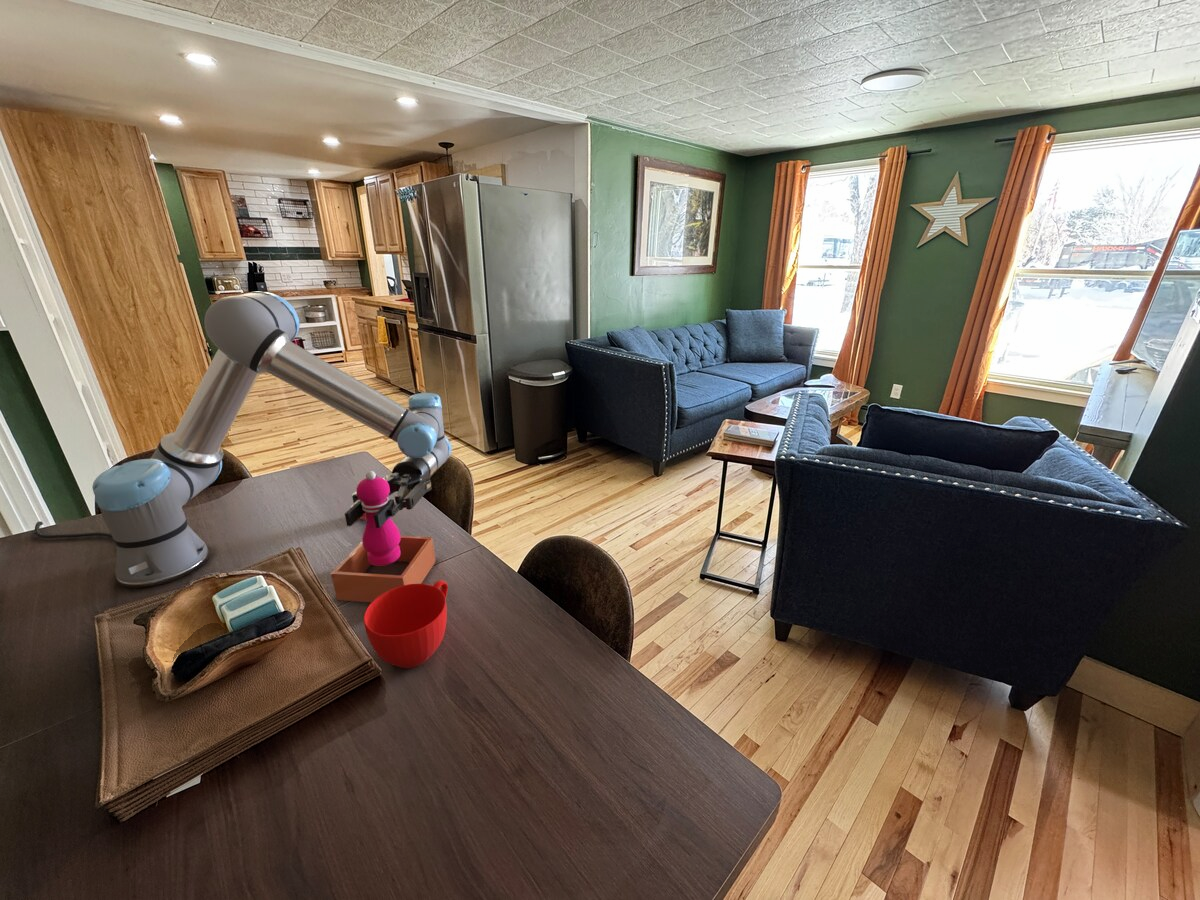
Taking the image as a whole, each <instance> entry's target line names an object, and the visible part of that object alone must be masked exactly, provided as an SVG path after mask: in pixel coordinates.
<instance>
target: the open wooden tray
mask: <svg viewBox="0 0 1200 900" xmlns="http://www.w3.org/2000/svg"><path fill="white" fill-rule="evenodd" d="M400 536H401V540H400V543H399V544H398V545H399V547H400V552H401V555H400V557H399V558H398V559H397V560H396V561H395V562H405V563H408V564H407V565H406V568H405V569H404V571H403V572H402V573H401V574H400V575H397V574H384V573H382V574H381V573H366V572H367V570H368V569H369V568H370V567H371V565H372V564H371V563H370V562H369V560H368V555H367V553H368V551H367V550H365V549H364V547H363V542H362V541H361V542H360V543H359V544H358V545H357V546H356V547H355V548H354V549H353V550H352V551H351V552H350V553H349V554H348V555H347V557H345V558H344V559H343V560H342V562H340V564H339V565H338V566H336V568H335V569H334V570H333V571H331V573H330V576H331V580H332V584H333V589H334V593H335V597H336V600H337V601H346V602H347V601H348V602H360V603H372V602H373V601H374V600H375V599H376V598H377V597H379V596H380V595H381V594H383V593H385V592H387V591H389V590H391V589H394V588H396V587H399V586H403V585H408V584H423V581H424V580H425V578H426V577H427V575H428V574H429V572H430V571H431V569H432V568H433V566H434V565H435V563H436V555H435V549H434V547H435V546H434V540H433V537H432V536H431V537H430V536H416V535H415V536H414V535H400Z"/></svg>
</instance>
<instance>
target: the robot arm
mask: <svg viewBox="0 0 1200 900" xmlns="http://www.w3.org/2000/svg"><path fill="white" fill-rule="evenodd" d="M203 323H204V329H205V332H206V335H207V337H208V339H209V340H210V341H211V343H212V344H213V346H215V347H216V348H217V351H216V352H215V354H214V356H213V358H212V360H211V362H210V363H209V366H208V367H207V369H206V370H205V373H204V375H203V377H202V379H201V381H200V383H199V385H198V387H197V389H196V391H195V392H194V395H193V396H192V398H191V400H190V401H189V404H188V405H187V408H186V410H185V411H184V413H183V416H182V417H181V419H180V421H179V423H178V425H177V427H176V429H175V431H173V432H169V433H166V434H164V435H163V436H162V437H161V439H160V440H159V443H158V444H157V447H156V449H155V450H154V452H153V454H152V456H151V457H150V458H141V459H136V460H130V461H127V462H123V463H122V464H120V465H114V466H112V467H110V468H108V469H106V470H105V471H102V473H100V474H98V475H97V477H96V478H95V479H94V480H93V482H92V485H91V486H92V487H91V489H92V493H93V495H94V501H95V504H96V506H97V507H98V508H99V510H100V512H101V513H100V514H101V515H102V517H103V520H104V521H105V522H104V523H105V524H106V525H107V528H108V530H109V532H99V531H98V532H85V533H84V532H82V533H65V534H44V533H41V531H40V527H41V526H43V525H44V523H43V521H37V522H36V523H35V524H34V525H35V526H34V533H35V535H36V536H37V537H39V538H43V539H60V538H81V537H82V538H83V537H94V536H101V537H108V538H112V540H113V542H114V544H115V546H116V555H115V566H114V567H115V570H114V573H115V577H116V580H117V583H118V584H119V585H120V586H121V587H124V588H129V589H143V588H149V587H155V586H160V585H163V584H167V583H170V582H173V581H175V580H179V579H180V578H183V577H184V576H187V575H189V574H191V573H192V572H194V571H196V570H198V569H199V568H200V567H201V566H203V565H204V564H205V563H206V562H207V561H208V559H209V557H210V551H209V548H208V546H207V544H206V543H205V542H204V540H203V539H202V538H201V537H200V536H199V535H198V534H197V533H196V532H195V531H194V530H193V529H192V528H191V527H190V525H189V523H188V521H187V518H186V515H185V512H184V510H183V506H185V505H187V504H188V502H190V501H191V500H192V499H193V498H195V497H196V496H197V495H199V493H201V492H202V491H203V490H205V489H207V488H208V487H209V486H211V485H212V484H213V483H214V482H215V481H216V480H217V479H218V477H219V475H220V474H221V472H222V468H223V458H224V455H225V454H224V450H223V449H222V447H221V446H222V444H223V442H224V440H225V438H226V436H227V435H228V433H229V431H230V429H231V427H232V426H233V424H234V422H235V420H236V418H237V416H239V413H240V411H241V409H242V408H243V405H244V404H245V402H246V400H247V398H248V397H249V395H250V393H251V391H252V389H253V388H254V386H255V384H256V382H257V380H258V379H259V377H260V375H264V374H265V375H266V374H270V375H272V376H273V377H276V378H277V379H278V380H281V381H283V382H285V384H286V383H287V384H288V385H290V386H292V387H294V388H296V389H298V390H300V391H301V392H303V393H305V394H306V395H308V396H310V397H312V398H314V399H316V400H318V401H319V402H322V404H323V403H324V404H325V405H327V406H329V407H331V408H333V409H335V410H337V411H338V412H340V413H341V414H344V415H346V416H348V417H350V418H351V419H353V420H355V421H357V422H359V423H360V424H362V425H365V426H366V427H367V428H368V427H369V429H372V430H374V431H375V432H377V433H379V434H381V435H382V436H384V437H386V438H388V439H390V440H392V441H394V442H396V443H397V447H398V449H399V451H400V452H401V453H402V454H403V455H404V456H405V457H403V458H402V459H400V461H399V462H398V463H396V464H395V465H394V467H393V468H392V471H391V473H389V474H387V475H385V476H384V477H382V478H383V479H385V480H386V481H387V482H388V484H389V487H390V493H389V495H388V496H391V495H393V494H394V493H396V495H394V498H393V499H392V498H391V499H389V501H388V502H387V503H386V504H385V505H384V506H383V507H382V508H381V509H380V510H379V511H378V512H377V513H376V514H375V515H374V519H375V525H376V528H380V527H381V526H382V525H383V524H384V523H385V522H386V521H387V520H388V519H389V518H391V517H392V518H393V517H394V516H396V514H398V513H399V512H400V511H402V510H403V509H406V510H412V509H413V508H414V507H415V506H416V505H417V504H418V502H419V501H420V500H421V499H422V498H423V497H424V495H426V493H428V492H430V491H432V482H431V481H432V480H431V477H432V476H433V475H434V474H435V473H436V472H437V470H439V469H440V468H441V467H442V465H444V464H445V463H446V462H447V461H448V459H449V457H450V456H451V454H452V452H453V451H452V450H453V448H452V447H453V446H452V443H451V442H450V440H449V439H448V438H447V437H446V435H445V429H444V417H443V406H442V399H441V396H440V395H438V394H437V393H433V392H420V393H415V394H412V395H411V396H409V397H408V408H407V407H405V406H404V405H402V404H400V403H398V402H397V401H394V400H393V399H392V398H390V397H387V396H386V395H384V394H382V393H381V392H380V391H378V390H376V389H374V388H372V387H370V386H369V385H367V384H365V383H363V382H362V381H360V380H359V379H357V378H355V377H354V376H351V375H350V374H348V373H346V372H345V371H343V370H341V369H339V368H338V367H336V366H335V365H333V364H330V363H329V362H327V361H326V360H324V359H322V358H320V357H318V356H317V355H315V354H313V353H311V352H310V351H308V350H307V349H304V348H303V347H301V346H300V345H298V344H297V343H294V342H292V341H293V340H294V339H295V338H296V337H297V335H298V333H299V331H300V328H301V327H300V318H299V316H298V313H297V311H296V310H295V308H294V306H293V305H292V304H290V302H289V301H288V300H286V299H285V298H283V297H282V296H280V295H278V294H275V293H272V292H267V291H251V292H247V293H243V294H237V295H230V296H229V295H228V296H225V297H221V298H219V299H217V300H215V301H214V302H213V303H212V304H211V305H209V307H208V308H207V310H206V311H205V315H204V321H203ZM376 477H378V475H377V474H376ZM351 497H352V502H353V503H352V504H351V505H350V507H349V509H347V510H346V512H344V517H345V524H346V526H347V527H352V526H353V525H354V524H355V523H357V522H358V520H360V519H359V518H360V517H361V516H362V515H363V514H364V513H365V511H363V509H362V505H361V504H362V501H361V500H360V499H359V498H358V497H357V492H356V491H354V492H353V493H352V494H351ZM37 530H39V531H37ZM35 531H36V532H35Z"/></svg>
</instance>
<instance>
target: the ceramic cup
mask: <svg viewBox="0 0 1200 900" xmlns="http://www.w3.org/2000/svg"><path fill="white" fill-rule="evenodd" d="M448 590H449V585H448V583H447V582H446V581H445V580H438V581H436V582H435V583H434V584H433V585H431V584H427V583H421V584H408V585H403V586H399V587H396V588H394V589H391V590H389V591H387V592H385V593H383V594H381V595H380V596H379V597H377V598H376V599H375V600H374V601H373V602H370V603H369V605H368V607H367V608H366V610H365V611H364V615H363V625H364V630H365V632H366V636H367V639H368V641H369V643H370V646H371V647H372V649H373V650H374V652H375V654H376V655H377V656H378V657H379V658H380V659H382V660H383V661H384V662H385V663H387V664H390V665H392V666H395V667H399V668H403V669H411V668H415V667H417V666H421V665H422V664H424V663H425V662H427V661H428V660H429V659H430V658H431V656H433V654H434V653H435V652H436V651H437V650H438V648H439V646H440V645H441V643H442V641H443V639H444V636H445V632H446V627H447V617H448V615H447V613H448V610H447V609H448V608H447V597H448Z"/></svg>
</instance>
